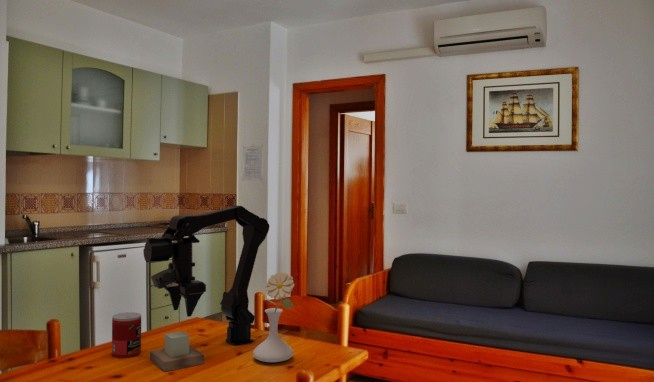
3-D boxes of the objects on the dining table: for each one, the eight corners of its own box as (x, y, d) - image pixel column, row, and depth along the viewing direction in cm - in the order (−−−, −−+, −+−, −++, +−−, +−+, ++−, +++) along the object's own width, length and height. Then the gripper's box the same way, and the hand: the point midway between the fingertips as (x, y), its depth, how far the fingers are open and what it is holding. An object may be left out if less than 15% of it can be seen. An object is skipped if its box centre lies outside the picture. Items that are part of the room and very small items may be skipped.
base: (187, 352, 149) (188, 344, 149) (203, 363, 140) (204, 354, 140) (149, 360, 142) (149, 351, 142) (164, 371, 133) (164, 362, 133)
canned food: (131, 359, 143) (131, 319, 143) (105, 356, 144) (106, 317, 144) (146, 350, 150) (146, 313, 150) (121, 348, 152) (122, 311, 152)
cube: (181, 348, 144) (182, 331, 144) (189, 353, 141) (189, 335, 141) (164, 352, 141) (164, 334, 141) (171, 357, 137) (171, 338, 137)
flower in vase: (244, 360, 143) (245, 270, 143) (272, 350, 152) (273, 266, 152) (278, 370, 136) (279, 276, 135) (306, 359, 145) (307, 271, 144)
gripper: (142, 258, 150) (142, 311, 150) (168, 266, 135) (168, 325, 136) (178, 254, 157) (179, 305, 157) (206, 262, 143) (206, 318, 143)
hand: (182, 313), depth 148 cm, fingers open, 9 cm apart
